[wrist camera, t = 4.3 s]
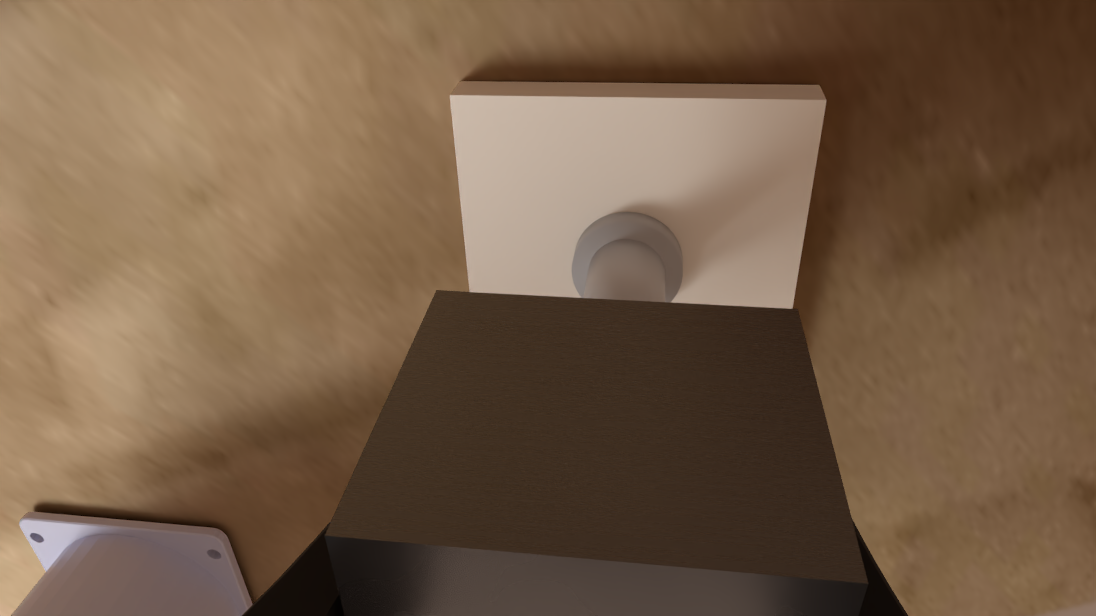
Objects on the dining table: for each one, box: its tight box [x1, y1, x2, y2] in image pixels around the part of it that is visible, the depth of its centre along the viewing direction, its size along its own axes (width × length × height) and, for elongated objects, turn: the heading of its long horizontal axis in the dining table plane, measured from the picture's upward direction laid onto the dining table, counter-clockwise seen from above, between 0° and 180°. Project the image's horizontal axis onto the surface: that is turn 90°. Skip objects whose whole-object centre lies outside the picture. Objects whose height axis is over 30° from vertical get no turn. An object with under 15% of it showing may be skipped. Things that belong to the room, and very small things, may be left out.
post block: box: [450, 81, 827, 309], centre depth 18 cm, size 8×8×5 cm
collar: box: [325, 290, 868, 616], centre depth 12 cm, size 6×6×5 cm
